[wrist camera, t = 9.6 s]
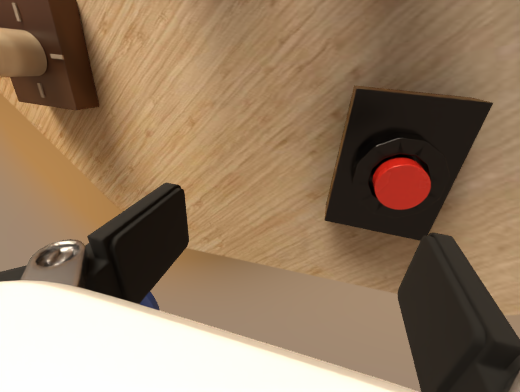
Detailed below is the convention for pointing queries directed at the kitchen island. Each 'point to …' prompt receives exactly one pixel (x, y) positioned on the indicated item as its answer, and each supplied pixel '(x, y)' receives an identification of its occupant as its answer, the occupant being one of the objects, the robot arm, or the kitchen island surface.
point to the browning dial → (20, 54)
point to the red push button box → (400, 154)
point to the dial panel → (53, 53)
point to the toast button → (401, 183)
